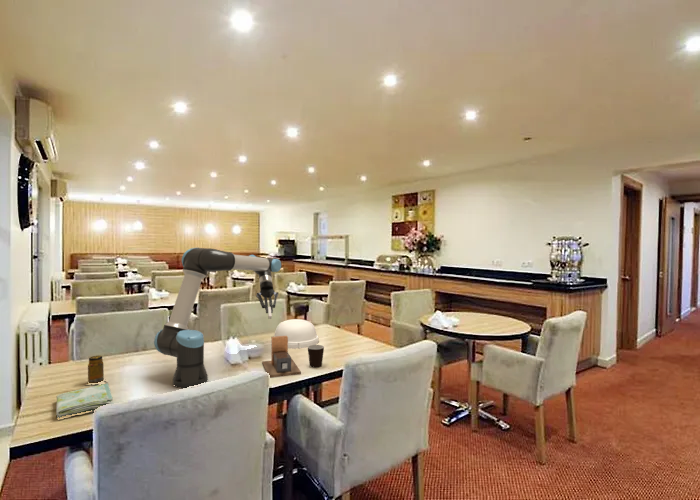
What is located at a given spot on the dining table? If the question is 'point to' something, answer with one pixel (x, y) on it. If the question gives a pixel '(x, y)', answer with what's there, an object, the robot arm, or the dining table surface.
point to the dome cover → (298, 333)
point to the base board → (272, 372)
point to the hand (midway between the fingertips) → (270, 317)
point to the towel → (83, 400)
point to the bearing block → (282, 358)
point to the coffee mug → (315, 355)
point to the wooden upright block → (279, 348)
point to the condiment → (95, 369)
